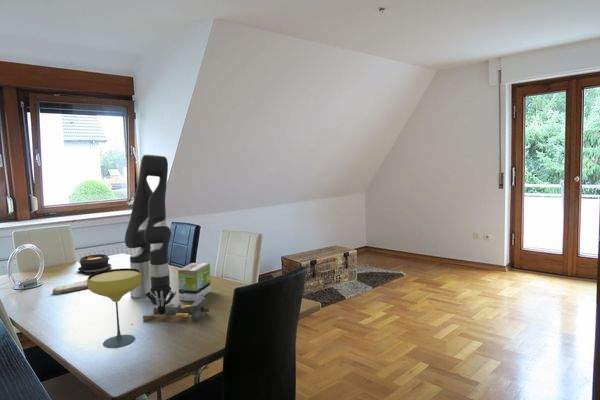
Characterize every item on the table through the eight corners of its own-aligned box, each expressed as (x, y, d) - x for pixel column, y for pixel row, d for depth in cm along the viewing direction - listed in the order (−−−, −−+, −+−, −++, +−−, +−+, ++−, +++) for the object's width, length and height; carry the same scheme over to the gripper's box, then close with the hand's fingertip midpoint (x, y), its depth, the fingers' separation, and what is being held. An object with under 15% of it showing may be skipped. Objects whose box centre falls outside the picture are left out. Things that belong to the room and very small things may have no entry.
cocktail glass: (90, 356, 143) (84, 284, 140) (93, 336, 159) (88, 272, 157) (147, 346, 150) (142, 277, 147) (144, 328, 166) (140, 265, 164)
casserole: (77, 268, 266) (76, 255, 265) (109, 263, 276) (108, 251, 275) (79, 277, 245) (78, 263, 244) (114, 272, 254) (113, 258, 253)
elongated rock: (50, 295, 217) (56, 300, 210) (48, 285, 216) (55, 290, 209) (117, 276, 242) (125, 280, 235) (116, 268, 241) (124, 271, 234)
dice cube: (169, 314, 180) (169, 303, 180) (181, 314, 180) (180, 303, 180) (165, 318, 175) (165, 307, 175) (177, 318, 175) (176, 307, 175)
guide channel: (143, 321, 173) (142, 305, 172) (155, 312, 184) (154, 296, 183) (204, 322, 170) (203, 306, 169) (213, 312, 181) (212, 297, 180)
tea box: (198, 301, 197) (196, 270, 195) (178, 300, 199) (176, 269, 197) (211, 291, 211) (210, 262, 210) (192, 290, 213) (191, 262, 212)
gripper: (140, 276, 173) (142, 317, 174) (171, 276, 171) (173, 317, 173) (148, 271, 180) (151, 310, 182) (178, 271, 179) (180, 311, 180)
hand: (162, 314), depth 177 cm, fingers closed
